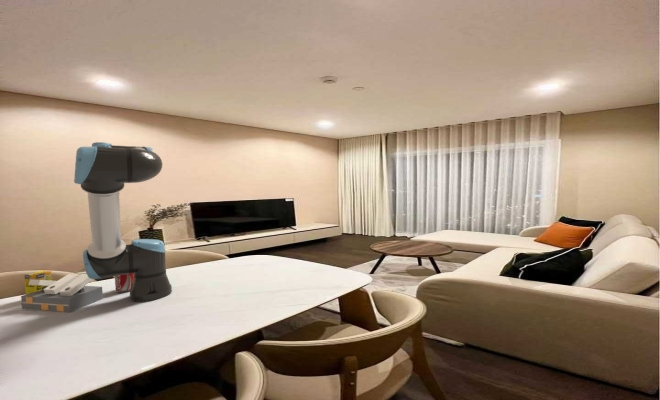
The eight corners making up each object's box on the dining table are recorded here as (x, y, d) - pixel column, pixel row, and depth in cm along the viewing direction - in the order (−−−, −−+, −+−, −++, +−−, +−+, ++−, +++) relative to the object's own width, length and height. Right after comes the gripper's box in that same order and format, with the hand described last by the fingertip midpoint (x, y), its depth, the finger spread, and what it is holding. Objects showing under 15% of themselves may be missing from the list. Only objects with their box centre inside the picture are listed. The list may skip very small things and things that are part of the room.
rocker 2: (80, 278, 122) (78, 273, 121) (55, 294, 113) (53, 289, 112) (70, 277, 123) (68, 273, 122) (45, 293, 114) (43, 289, 113)
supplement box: (37, 302, 120) (35, 275, 120) (25, 301, 121) (23, 274, 121) (53, 296, 126) (51, 271, 125) (42, 295, 127) (40, 270, 127)
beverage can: (111, 292, 130) (109, 264, 129) (129, 286, 137) (127, 260, 137) (124, 294, 127) (122, 266, 127) (141, 287, 135) (140, 261, 134)
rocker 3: (94, 277, 121) (92, 273, 120) (71, 296, 112) (69, 291, 111) (84, 277, 121) (82, 273, 120) (61, 295, 113) (58, 291, 112)
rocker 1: (64, 286, 123) (66, 281, 123) (38, 285, 113) (40, 279, 114) (55, 285, 123) (57, 280, 124) (28, 284, 114) (30, 278, 115)
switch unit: (102, 298, 122) (101, 283, 122) (69, 312, 109) (68, 295, 109) (58, 296, 126) (57, 281, 126) (21, 309, 113) (20, 292, 113)
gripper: (110, 177, 143) (113, 227, 144) (83, 177, 130) (86, 231, 131) (123, 177, 141) (126, 227, 143) (97, 176, 128) (101, 231, 130)
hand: (107, 229), depth 137 cm, fingers closed
